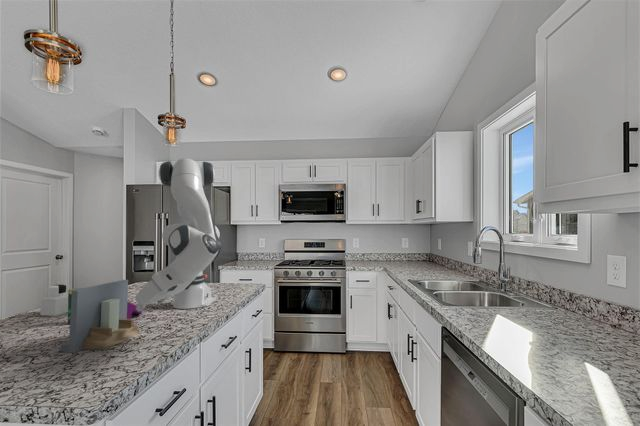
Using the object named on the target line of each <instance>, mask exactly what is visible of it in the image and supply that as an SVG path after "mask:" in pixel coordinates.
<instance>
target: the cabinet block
mask: <svg viewBox="0 0 640 426" xmlns="http://www.w3.org/2000/svg"><path fill="white" fill-rule="evenodd" d="M119 301H120V299H109V300H105V301H102V304H101V326H100V327H101V328H112V332H113V331H116V330H118V325H119Z"/></svg>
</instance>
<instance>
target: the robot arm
mask: <svg viewBox="0 0 640 426" xmlns="http://www.w3.org/2000/svg"><path fill="white" fill-rule="evenodd" d="M158 178H159V181H160V182H161V184H162V185H163V186H166V187H170V192H171V194H172V197H173V200H174V201H175V202H176V207H177V208H176V209H177V213H178V215H180V217H182V218H184V219H186V220H188V221H189V222H190V223H173V224H168V225H166V226H165V227H164V228H163V230H162V234H161V236H162V237H161V238H162V241H163V242H164V244H165V245H167V246H168V247H169V248H170V250H171V252H172V253H173V255H174V256H175V257H176V258H175V259H174V260H173V261H172V262H171V263H170V264H169V265H167V266H166V267H164V268H163V269H161V270H159V271H157V272H154V273H153V274H152V276H151V280H149V281H147V282H146V284H144V286H143V287H142V288H141V289H140V290H139V291H138V292H137V293H136V295H135V297H134V299H135V302H136V304H138V305H136V306H137V307H136V309H137V311H138V312H140V311H142V312H143V311H144V310H145V309H146V308H147V306H148V305H152V304H154V303H158V304H159V305H160V304H162V303H164V302H165V301H166V300H167V299H169V298H170V297H172V296H173V298H172V299H173V300H172V301H171V302H170V305H171V306H172V307H173V308H174V309H180V310H181V309H183V310H188V309H197V308H203V307H205V308H206V307H209V306H210V305H211V304H213V302H216V300H217V297H215V296H212V288H211V287H210V286H209V285H208V284H207V283H205V280H206V279H207V277H208V274H203V272H204V270H205V269H206V268H207V267H209V265H210V264H211V263H213V262H215V261H216V260H217V259H218V258H219V257H220V255H221V253H222V243H221V239H220V238H221V237H220V236H221V232H220V230H219V228H218V226H216V225H215V220H214V215H213V211H212V208H211V205H210V203H209V201H208V199H207V197H206V194H205V191H204V187H205V188H206V187H207V186H210V185H212V184H213V183H214V181H215V178H216V171H215V168H214V166H213V163H211V162H208V161H203V162H202V161H196V160H194V159H192V158H187V157H186V158H179V159H178V160H177V161H164V162H163V163H161V164H160V166H159V169H158Z"/></svg>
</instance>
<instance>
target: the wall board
mask: <svg viewBox="0 0 640 426" xmlns="http://www.w3.org/2000/svg"><path fill="white" fill-rule="evenodd" d="M77 289H78V290H73V291H72V298H71V318H70V325H69V339H68V341H66V342H63V343H60V345H59V352H63V353H64V352H65V353H66V352H67V353H77V352H78V351H81V350H83V349H85V348H84V338H87V337H89V336H90V333H91V328H93V327H100V326H101V304H102V301H105V300H109V299H120V301H119V319H127V302H128V298H129V297H128V293H129V279H121V280H116V281H112V282H107V283H102V284H97V285H94V286H93V285H91V286H88V287H83V288H82V289H80V288H77ZM76 351H77V352H76Z"/></svg>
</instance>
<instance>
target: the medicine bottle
mask: <svg viewBox="0 0 640 426" xmlns="http://www.w3.org/2000/svg"><path fill="white" fill-rule="evenodd" d="M46 295H47V296H46V297H45V296H44V297H41V300H40V316H44V317H45V316H47V317H50V316H51V317H56V316H60V315H63V314H64V315H65V314H68V294H67V285H66V284H53V285H49V286H48V287H47V294H46Z"/></svg>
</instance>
